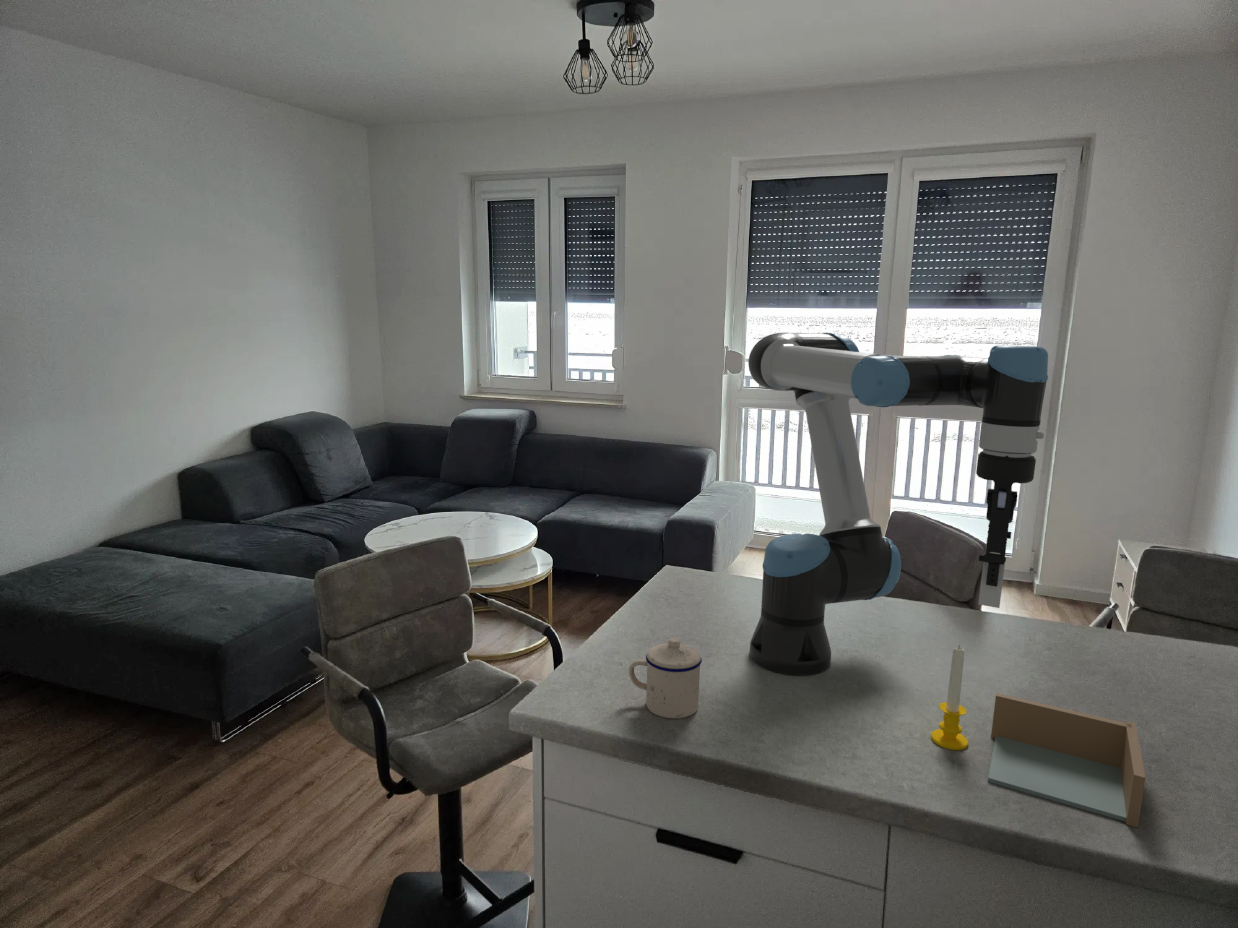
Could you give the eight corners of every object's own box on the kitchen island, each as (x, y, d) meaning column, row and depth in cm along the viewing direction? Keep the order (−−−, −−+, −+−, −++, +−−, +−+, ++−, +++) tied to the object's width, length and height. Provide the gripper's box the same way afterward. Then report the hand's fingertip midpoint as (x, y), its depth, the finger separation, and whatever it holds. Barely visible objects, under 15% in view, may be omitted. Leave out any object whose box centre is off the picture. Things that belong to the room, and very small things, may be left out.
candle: (925, 731, 115) (935, 637, 113) (959, 732, 115) (969, 638, 113) (938, 749, 110) (948, 652, 108) (973, 750, 110) (985, 653, 107)
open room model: (982, 782, 102) (987, 735, 101) (991, 732, 115) (996, 690, 114) (1137, 827, 93) (1145, 777, 92) (1128, 767, 106) (1135, 723, 105)
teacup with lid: (703, 697, 125) (706, 632, 123) (694, 724, 116) (697, 655, 114) (635, 686, 128) (637, 623, 126) (621, 712, 119) (622, 644, 117)
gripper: (1038, 469, 95) (1018, 624, 99) (1034, 444, 116) (1018, 572, 120) (974, 462, 98) (957, 613, 102) (982, 439, 120) (968, 564, 124)
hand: (990, 591), depth 111 cm, fingers open, 13 cm apart
